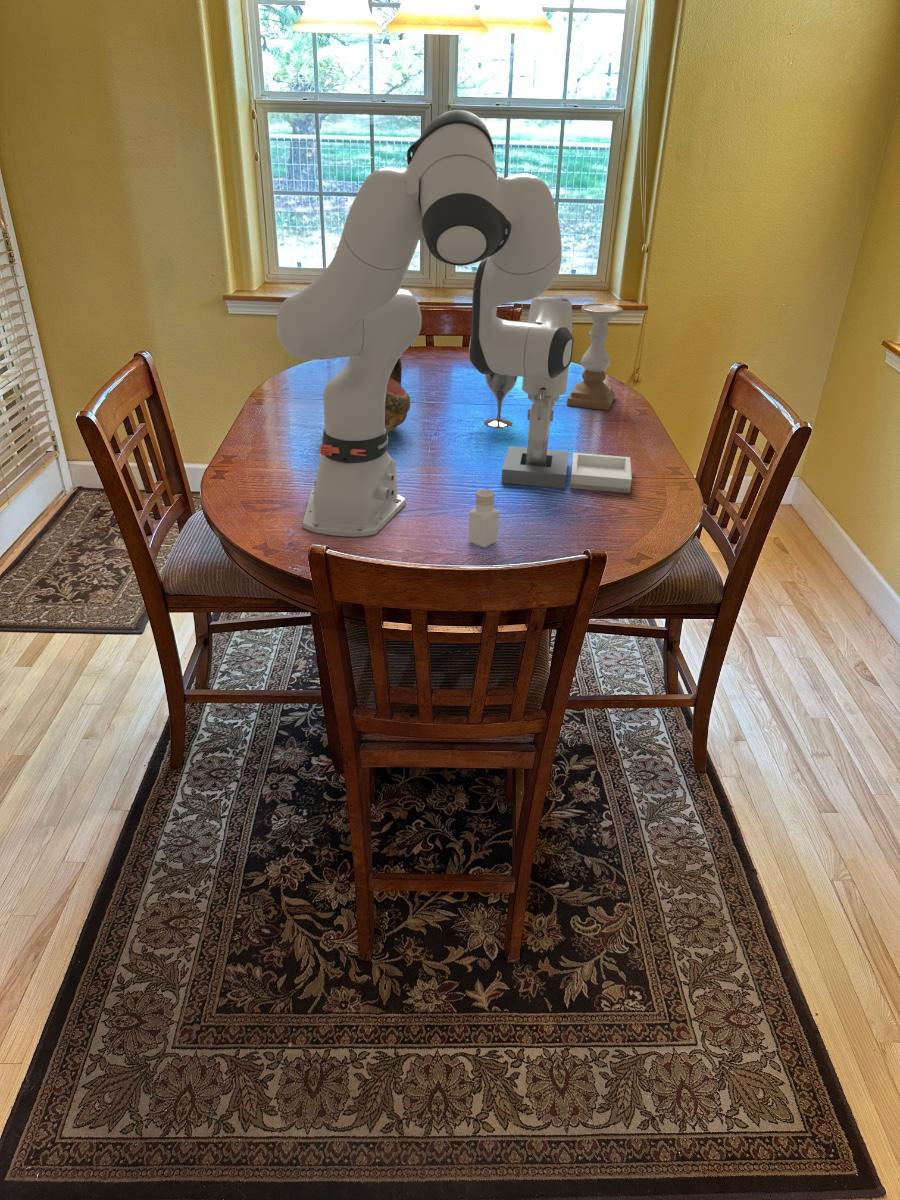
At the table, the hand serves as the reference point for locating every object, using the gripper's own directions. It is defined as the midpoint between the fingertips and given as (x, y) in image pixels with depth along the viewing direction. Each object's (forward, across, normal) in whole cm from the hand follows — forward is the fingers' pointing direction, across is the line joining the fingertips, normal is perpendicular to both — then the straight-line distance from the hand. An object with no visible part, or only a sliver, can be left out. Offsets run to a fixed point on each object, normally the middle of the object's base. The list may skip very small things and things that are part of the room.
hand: (539, 447), depth 166 cm
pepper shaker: (+6, -33, +7) cm, 34 cm away
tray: (+6, +1, -13) cm, 14 cm away
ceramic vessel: (+6, +14, +40) cm, 42 cm away
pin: (+6, 0, 0) cm, 6 cm away
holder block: (+6, 0, 0) cm, 6 cm away
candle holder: (+6, +52, -10) cm, 53 cm away
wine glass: (+6, +29, +12) cm, 32 cm away
